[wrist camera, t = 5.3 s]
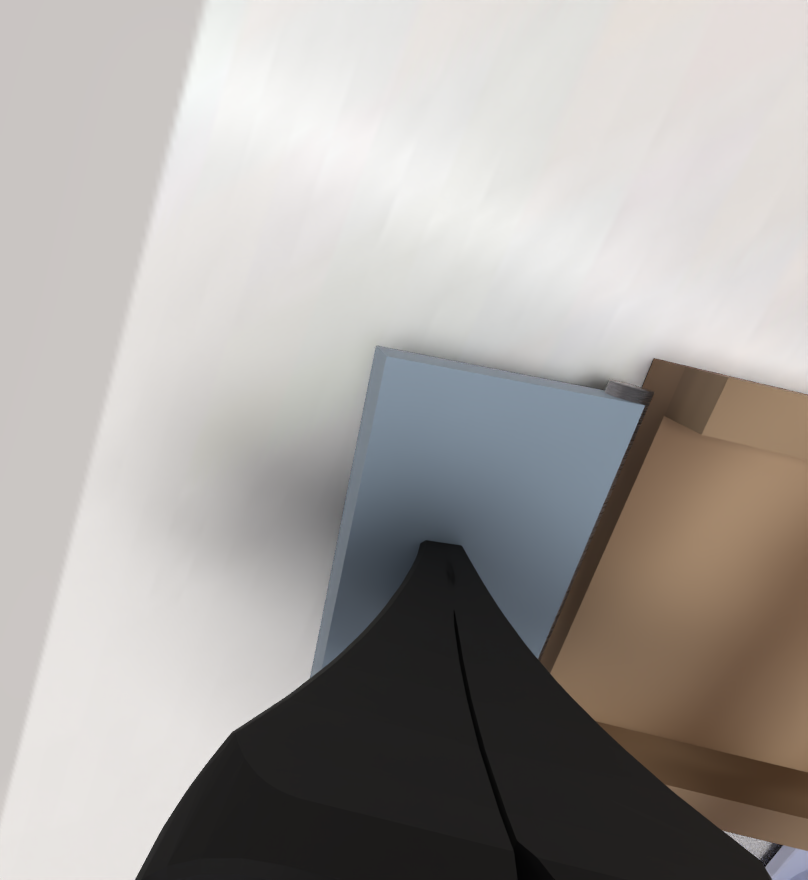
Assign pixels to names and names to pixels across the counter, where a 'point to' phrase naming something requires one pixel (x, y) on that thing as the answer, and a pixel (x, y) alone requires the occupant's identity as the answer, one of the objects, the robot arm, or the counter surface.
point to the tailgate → (475, 487)
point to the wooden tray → (703, 602)
